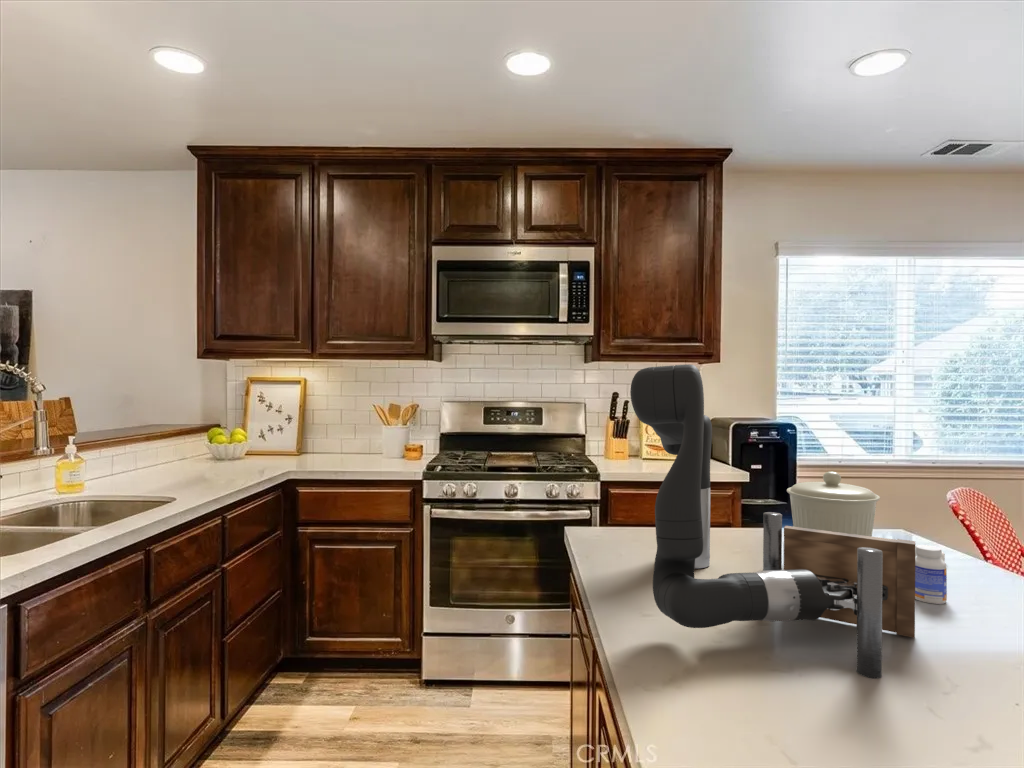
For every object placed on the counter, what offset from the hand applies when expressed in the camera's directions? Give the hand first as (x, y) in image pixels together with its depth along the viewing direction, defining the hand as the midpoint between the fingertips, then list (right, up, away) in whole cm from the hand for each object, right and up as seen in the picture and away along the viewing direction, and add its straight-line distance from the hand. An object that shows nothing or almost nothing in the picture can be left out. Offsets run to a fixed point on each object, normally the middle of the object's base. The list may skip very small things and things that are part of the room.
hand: (884, 591), depth 95 cm
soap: (+34, -8, +42) cm, 54 cm away
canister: (+11, -7, +36) cm, 38 cm away
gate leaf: (-4, -6, +4) cm, 9 cm away
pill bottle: (+19, -7, +16) cm, 26 cm away
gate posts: (-12, -7, -1) cm, 14 cm away
